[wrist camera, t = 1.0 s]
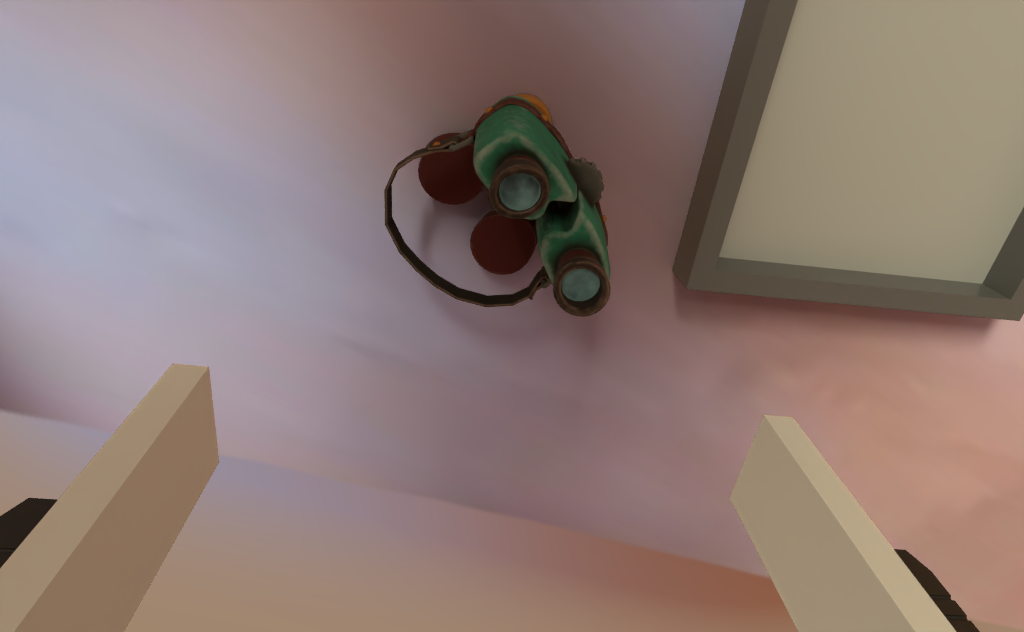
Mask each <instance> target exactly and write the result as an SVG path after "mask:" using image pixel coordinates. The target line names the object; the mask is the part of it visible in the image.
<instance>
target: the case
mask: <svg viewBox="0 0 1024 632" xmlns="http://www.w3.org/2000/svg"><path fill="white" fill-rule="evenodd" d="M673 272H674V273H675V274H676V276H677V277H678V278H679V280H680V281H681V283H682V284H683V285H684V287H685V288H686V289H689V290H700V291H710V292H721V293H731V294H742V295H752V296H763V297H773V298H784V299H794V300H805V301H815V302H826V303H836V304H847V305H857V306H868V307H878V308H889V309H899V310H910V311H920V312H931V313H941V314H952V315H962V316H973V317H983V318H994V319H1004V320H1015V321H1020V319H1021V317H1022V316H1023V314H1024V0H746V2H745V6H744V9H743V13H742V17H741V20H740V24H739V28H738V31H737V35H736V39H735V42H734V46H733V50H732V53H731V57H730V61H729V64H728V68H727V72H726V75H725V79H724V83H723V86H722V90H721V94H720V97H719V101H718V105H717V108H716V112H715V116H714V119H713V123H712V127H711V131H710V134H709V138H708V142H707V145H706V149H705V153H704V156H703V160H702V164H701V167H700V171H699V175H698V178H697V182H696V186H695V189H694V193H693V197H692V200H691V204H690V208H689V211H688V215H687V219H686V222H685V226H684V230H683V233H682V237H681V241H680V244H679V248H678V252H677V255H676V259H675V263H674V266H673Z"/></svg>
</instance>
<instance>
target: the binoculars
mask: <svg viewBox="0 0 1024 632" xmlns="http://www.w3.org/2000/svg"><path fill="white" fill-rule="evenodd" d="M475 135H476V136H475ZM419 157H422V158H421V161H420V163H419V169H418V173H419V179H420V182H421V185H422V186H423V188H424V190H425V191H426V192H427V193H428V194H429V195H430V196H431V197H433V198H434V199H435V200H437V201H440V202H442V203H446V204H453V205H457V204H463V203H466V202H468V201H470V200H472V199H473V198H475V197H476V196H477V195H478V194H479V192H480V191H481V190H482V188H483V187H484V185H485V186H486V187H487V188H488V189H489V192H488V197H489V201H490V204H491V206H492V207H493V209H494V211H491V212H489V213H488V214H486V215H485V216H484V217H483V218H482V219H481V220H480V221H479V223H478V224H477V225H476V227H475V228H474V230H473V232H472V235H471V240H470V245H471V251H472V254H473V256H474V258H475V260H476V261H477V262H478V263H479V265H480V266H482V267H483V268H484V269H486V270H488V271H489V272H492V273H495V274H502V275H505V274H511V273H514V272H516V271H518V270H520V269H521V268H522V267H523V266H524V265H525V264H526V263H527V262H528V261H529V259H530V258H531V256H532V253H533V251H534V249H535V246H536V244H537V241H538V246H539V253H540V256H541V260H542V263H543V265H544V266H543V267H542V269H541V270H540V271H539V272H538V273H537V274H536V276H535V277H534V279H533V280H532V282H531V284H530V285H529V287H527V288H525V289H523V290H521V291H518V292H516V293H514V294H509V295H492V296H487V295H483V294H479V293H475V292H472V291H468V290H464V289H461V288H458V287H457V286H455V285H453V284H452V283H450V282H448V281H447V280H445V279H443V278H442V277H440V276H438V275H437V274H436V273H435V272H433V271H432V270H431V269H430V268H429V267H428V266H426V265H425V264H424V263H423V262H422V261H421V260H420V259H419V258H418V257H417V256H416V255H415V254H414V253H413V251H412V250H411V249H410V248H409V247H408V246H407V245H406V244H405V242H404V240H403V238H402V236H401V234H400V232H399V230H398V228H397V226H396V224H395V222H394V220H393V218H392V186H391V184H392V182H393V180H394V177H395V175H396V173H397V171H398V169H400V168H401V167H403V166H404V165H406V164H407V163H409V162H410V161H412V160H413V159H416V158H419ZM601 180H602V175H601V172H600V170H597V168H596V165H595V164H594V163H593V162H591V163H589V162H587V161H586V159H584V158H580V159H574V158H573V156H572V154H571V153H570V151H569V149H568V147H567V145H566V143H565V142H564V140H563V138H562V136H561V134H560V133H559V132H558V131H557V130H556V129H555V128H554V127H553V125H552V121H551V116H550V113H549V110H548V108H547V107H546V105H545V104H544V103H543V102H542V100H540V99H539V98H537V97H535V96H533V95H529V94H520V95H516V96H508V97H505V98H503V99H501V100H500V101H498V102H497V103H496V104H494V105H493V106H492V107H489V108H487V109H486V112H485V113H484V114H483V115H482V116H481V117H480V119H479V120H478V121H477V123H476V125H475V127H474V129H473V130H470V131H467V132H464V133H448V134H443V135H440V136H438V137H436V138H434V139H433V140H432V141H431V142H429V144H428V145H427V146H426V148H424V149H420V150H417V151H415V152H414V153H412V154H411V155H409V156H408V157H406V158H405V159H403V160H402V161H400V162H399V163H398V164H397V165H396V167H395V168H394V170H393V172H392V174H391V177H390V179H389V181H388V184H387V186H386V188H385V225H386V227H387V229H388V231H389V233H390V235H391V237H392V239H393V241H394V243H395V245H396V247H397V249H398V251H399V253H400V254H401V255H402V256H403V257H404V258H405V259H406V260H407V261H408V263H409V264H410V265H411V266H412V267H413V268H414V269H415V270H416V271H417V272H418V273H419V274H420V275H421V276H423V277H424V278H425V279H426V280H427V281H429V282H430V283H431V284H432V285H433V286H435V287H437V288H438V289H440V290H442V291H443V292H445V293H447V294H448V295H450V296H452V297H453V298H455V299H458V300H461V301H465V302H469V303H473V304H476V305H480V306H484V307H496V306H513V305H515V304H517V303H519V302H521V301H523V300H525V299H527V298H529V299H531V300H532V299H533V296H534V294H535V292H536V291H537V290H538V289H540V288H546V287H548V286H549V285H550V284H551V283H552V284H553V292H554V297H555V299H556V301H557V303H558V304H559V306H560V307H561V308H562V309H563V310H564V311H566V312H568V313H569V314H572V315H575V316H590V315H592V314H595V313H597V312H598V311H600V310H601V309H602V308H603V307H604V306H605V304H606V303H607V301H608V299H609V295H610V283H609V279H610V265H609V258H608V251H607V245H608V234H607V230H606V226H605V221H606V217H605V216H604V215H602V212H601V209H600V205H599V202H598V201H599V200H600V198H601V191H603V189H604V185H603V182H602V181H601ZM549 278H550V279H549Z"/></svg>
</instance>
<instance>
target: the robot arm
mask: <svg viewBox="0 0 1024 632" xmlns="http://www.w3.org/2000/svg"><path fill="white" fill-rule="evenodd" d="M218 463H219V456H218V447H217V438H216V428H215V419H214V410H213V400H212V391H211V382H210V373H209V367H205V366H194V365H182V364H172V365H171V366H170V367H169V369H168V370H167V371H166V372H165V373H164V375H163V376H162V377H161V378H160V379H159V381H158V382H157V383H156V384H155V385H154V386H153V388H152V389H151V390H150V391H149V392H148V394H147V395H146V396H145V397H144V398H143V400H142V401H141V402H140V403H139V404H138V405H137V407H136V408H135V409H134V410H133V411H132V413H131V414H130V415H129V416H128V417H127V419H126V420H125V421H124V422H123V423H122V424H121V426H120V427H119V428H118V429H117V430H116V432H115V433H114V434H113V435H112V436H111V438H110V439H109V440H108V441H107V442H106V443H105V445H104V446H103V447H102V448H101V449H100V451H99V452H98V453H97V454H96V455H95V457H94V458H93V459H92V460H91V461H90V463H89V464H88V465H87V466H86V467H85V468H84V470H83V471H82V472H81V473H80V474H79V476H78V477H77V478H76V479H75V480H74V481H73V483H72V484H71V485H70V486H69V488H68V489H67V490H66V491H65V492H64V493H63V495H62V496H61V497H60V498H59V499H58V500H54V499H38V498H28V499H26V500H25V501H23V502H22V503H20V504H19V505H17V506H16V507H14V508H13V509H11V510H10V511H8V512H6V513H5V514H3V515H2V516H0V632H124V631H125V629H126V627H127V625H128V624H129V622H130V620H131V618H132V617H133V615H134V613H135V611H136V609H137V608H138V606H139V604H140V602H141V600H142V599H143V597H144V595H145V593H146V591H147V590H148V588H149V586H150V584H151V583H152V581H153V579H154V577H155V575H156V574H157V572H158V570H159V568H160V566H161V565H162V563H163V561H164V559H165V558H166V556H167V554H168V552H169V551H170V548H171V547H172V545H173V543H174V542H175V540H176V538H177V536H178V534H179V533H180V531H181V529H182V527H183V526H184V523H185V522H186V520H187V518H188V517H189V515H190V513H191V511H192V509H193V508H194V506H195V504H196V502H197V501H198V499H199V497H200V495H201V493H202V492H203V490H204V488H205V486H206V485H207V483H208V481H209V479H210V477H211V475H212V474H213V472H214V470H215V468H216V467H217V465H218ZM730 499H731V501H732V503H733V505H734V507H735V509H736V511H737V513H738V515H739V517H740V519H741V521H742V523H743V525H744V526H745V528H746V530H747V532H748V534H749V536H750V538H751V540H752V542H753V544H754V546H755V548H756V550H757V552H758V554H759V556H760V558H761V560H762V562H763V564H764V566H765V567H766V569H767V571H768V573H769V575H770V577H771V579H772V581H773V583H774V585H775V587H776V589H777V591H778V593H779V595H780V597H781V599H782V601H783V603H784V604H785V607H786V608H787V610H788V612H789V614H790V616H791V618H792V620H793V622H794V624H795V626H796V628H797V630H798V632H979V631H978V629H977V628H976V627H975V625H974V624H973V623H972V622H971V621H968V620H967V618H966V617H967V615H966V614H965V613H964V612H963V610H962V609H961V608H960V607H959V605H958V604H957V603H956V602H955V601H954V600H951V598H950V597H951V595H950V594H949V593H948V592H947V590H946V589H945V588H944V587H943V585H942V584H941V583H940V582H939V580H938V579H937V578H936V577H935V575H934V574H933V573H932V572H931V571H930V570H929V569H928V568H927V567H925V566H924V565H923V564H922V563H921V562H919V561H918V560H917V559H916V558H915V557H913V556H912V555H911V554H910V553H909V552H907V551H906V550H898V549H893V548H892V547H891V545H890V544H889V543H888V541H887V540H886V539H885V537H884V536H883V535H882V533H881V532H880V531H879V530H878V528H877V527H876V526H875V524H874V523H873V522H872V520H871V519H870V518H869V516H868V515H867V514H866V513H865V511H864V510H863V509H862V507H861V506H860V505H859V503H858V502H857V501H856V499H855V498H854V497H853V496H852V494H851V493H850V492H849V490H848V489H847V488H846V486H845V485H844V484H843V482H842V481H841V480H840V478H839V477H838V476H837V475H836V473H835V472H834V471H833V469H832V468H831V467H830V465H829V464H828V463H827V461H826V460H825V459H824V458H823V456H822V455H821V454H820V452H819V451H818V450H817V448H816V447H815V446H814V444H813V443H812V442H811V441H810V439H809V438H808V437H807V435H806V434H805V433H804V431H803V430H802V429H801V427H800V426H799V425H798V424H797V422H796V421H795V420H794V418H793V417H784V416H772V415H763V418H762V420H761V423H760V425H759V427H758V430H757V432H756V435H755V437H754V440H753V442H752V444H751V447H750V449H749V452H748V454H747V457H746V459H745V461H744V464H743V466H742V469H741V471H740V474H739V476H738V478H737V481H736V483H735V486H734V488H733V491H732V493H731V495H730Z"/></svg>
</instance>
